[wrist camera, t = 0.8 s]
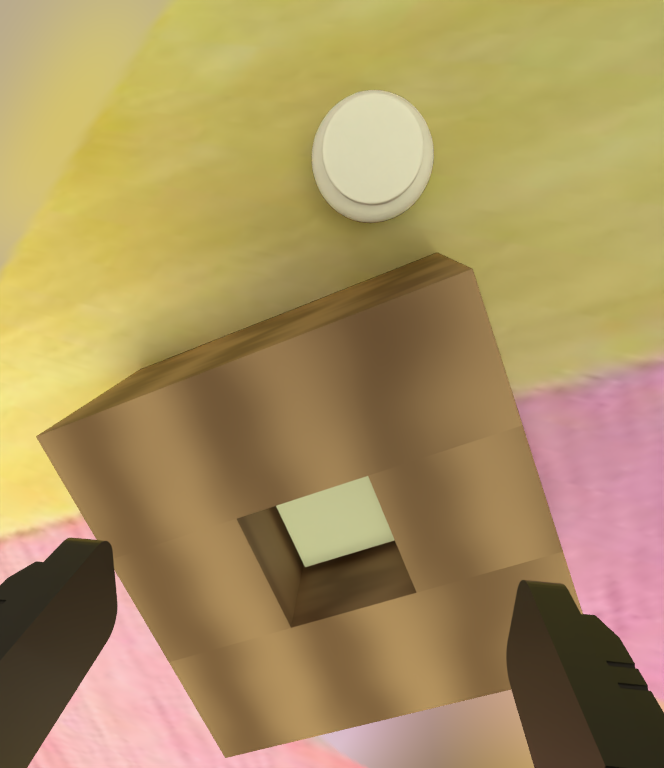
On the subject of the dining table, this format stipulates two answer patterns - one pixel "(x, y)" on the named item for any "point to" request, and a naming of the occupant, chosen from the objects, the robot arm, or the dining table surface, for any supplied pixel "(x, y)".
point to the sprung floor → (336, 522)
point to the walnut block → (311, 475)
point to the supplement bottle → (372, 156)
